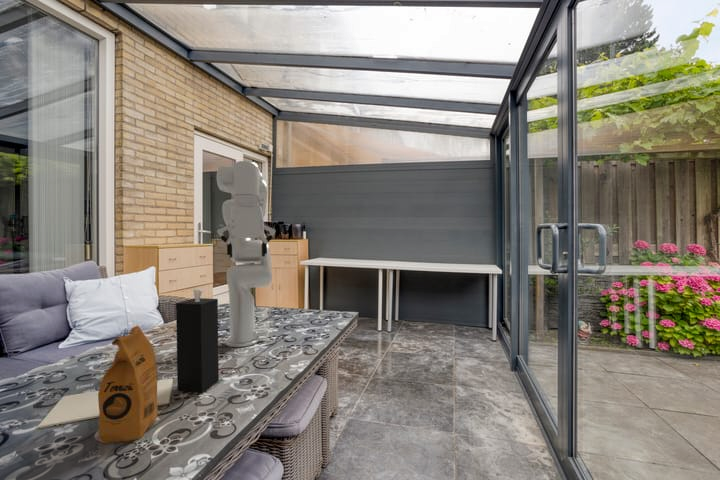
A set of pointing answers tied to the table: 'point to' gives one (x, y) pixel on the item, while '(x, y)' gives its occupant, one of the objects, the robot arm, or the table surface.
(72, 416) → the mat
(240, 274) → the robot arm
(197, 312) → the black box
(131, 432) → the coffee package
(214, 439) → the table surface
